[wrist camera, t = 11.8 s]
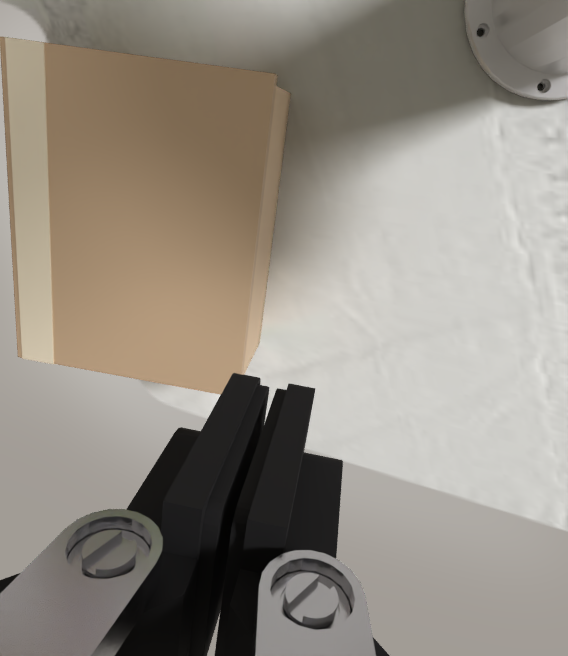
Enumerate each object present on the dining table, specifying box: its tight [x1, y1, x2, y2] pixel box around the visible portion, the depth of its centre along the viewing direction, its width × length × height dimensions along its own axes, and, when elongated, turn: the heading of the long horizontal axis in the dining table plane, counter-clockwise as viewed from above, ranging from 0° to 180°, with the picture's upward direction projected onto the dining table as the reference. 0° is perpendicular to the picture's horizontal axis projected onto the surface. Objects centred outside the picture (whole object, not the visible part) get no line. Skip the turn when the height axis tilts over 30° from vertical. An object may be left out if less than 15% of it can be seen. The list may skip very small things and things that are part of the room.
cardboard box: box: [243, 86, 291, 375], centre depth 39 cm, size 20×16×8 cm
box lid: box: [0, 37, 278, 394], centre depth 35 cm, size 21×17×1 cm
